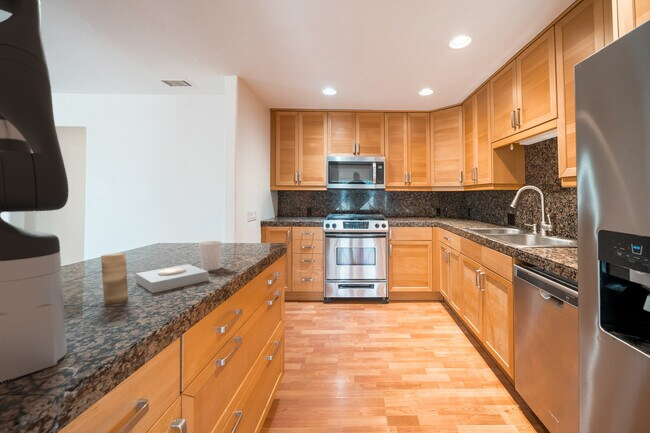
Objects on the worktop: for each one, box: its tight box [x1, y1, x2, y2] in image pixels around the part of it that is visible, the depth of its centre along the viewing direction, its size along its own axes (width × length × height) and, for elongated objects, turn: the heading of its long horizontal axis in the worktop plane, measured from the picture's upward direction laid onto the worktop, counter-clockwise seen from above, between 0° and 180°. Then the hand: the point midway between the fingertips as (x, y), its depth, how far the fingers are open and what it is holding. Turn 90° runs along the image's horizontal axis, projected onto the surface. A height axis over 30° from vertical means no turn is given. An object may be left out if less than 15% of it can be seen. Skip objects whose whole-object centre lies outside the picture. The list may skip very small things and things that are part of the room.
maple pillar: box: [100, 252, 129, 305], centre depth 71 cm, size 5×5×12 cm
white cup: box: [198, 240, 222, 272], centre depth 104 cm, size 8×8×10 cm
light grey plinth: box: [135, 263, 210, 294], centre depth 88 cm, size 16×16×3 cm
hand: (21, 203), depth 70 cm, fingers open, 8 cm apart
